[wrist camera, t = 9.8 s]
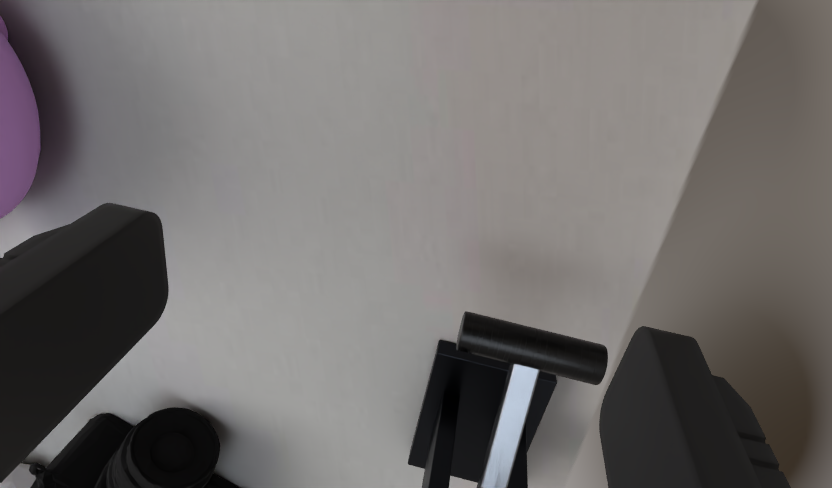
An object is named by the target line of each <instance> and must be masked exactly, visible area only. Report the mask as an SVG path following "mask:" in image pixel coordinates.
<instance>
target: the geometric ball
mask: <svg viewBox="0 0 832 488" xmlns="http://www.w3.org/2000/svg"><path fill="white" fill-rule="evenodd" d="M29 468H30V465H29V464H23V463H20V464H19V465H18V466H17V467H16V468H15V469H14V470H13V471H12V472H11V473H10V474H9V475H8V476H7V477H6V478H5V480H4V481H3V482H2V483H0V488H30V487H31V486H32V485H33V483H34V481H35V480H36V477H35V475H32V474H31V473H30V471H29ZM38 469H39V468H38ZM39 470H41V469H39Z"/></svg>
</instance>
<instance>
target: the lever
mask: <svg viewBox="0 0 832 488" xmlns="http://www.w3.org/2000/svg"><path fill="white" fill-rule="evenodd" d="M456 350H458V351H462V352H466V353H470V354H474V355H478V356H482V357H486V358H490V359H494V360H498V361H502V362H506V363H510V366H509V370H508V374H507V377H506V381H505V385H504V388H503V392H502V396H501V400H500V403H499V407H498V411H497V414H496V418H495V422H494V426H493V429H492V433H491V437H490V440H489V444H488V448H487V452H486V455H485V459H484V463H483V466H482V470H481V474H480V478H479V481H478V485H477V488H507V486H508V483H509V479H510V475H511V472H512V468H513V465H514V461H515V458H516V454H517V450H518V447H519V443H520V440H521V436H522V432H523V429H524V425H525V422H526V418H527V415H528V411H529V407H530V404H531V400H532V397H533V393H534V390H535V386H536V382H537V379H538V375H539V372H540V371H542V372H546V373H550V374H554V375H558V376H562V377H566V378H570V379H574V380H578V381H582V382H586V383H590V384H594V385H598V384H600V383H601V381H602V379H603V377H604V375H605V372H606V368H607V362H608V353H607V349H606V347H605V346H604V345H601V344H597V343H593V342H589V341H585V340H581V339H577V338H573V337H569V336H565V335H561V334H556V333H552V332H548V331H544V330H540V329H536V328H532V327H528V326H524V325H520V324H516V323H512V322H508V321H504V320H500V319H495V318H491V317H487V316H483V315H479V314H475V313H471V312H465V313H464V315H463V318H462V321H461V325H460V329H459V333H458V338H457V344H456Z"/></svg>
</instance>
